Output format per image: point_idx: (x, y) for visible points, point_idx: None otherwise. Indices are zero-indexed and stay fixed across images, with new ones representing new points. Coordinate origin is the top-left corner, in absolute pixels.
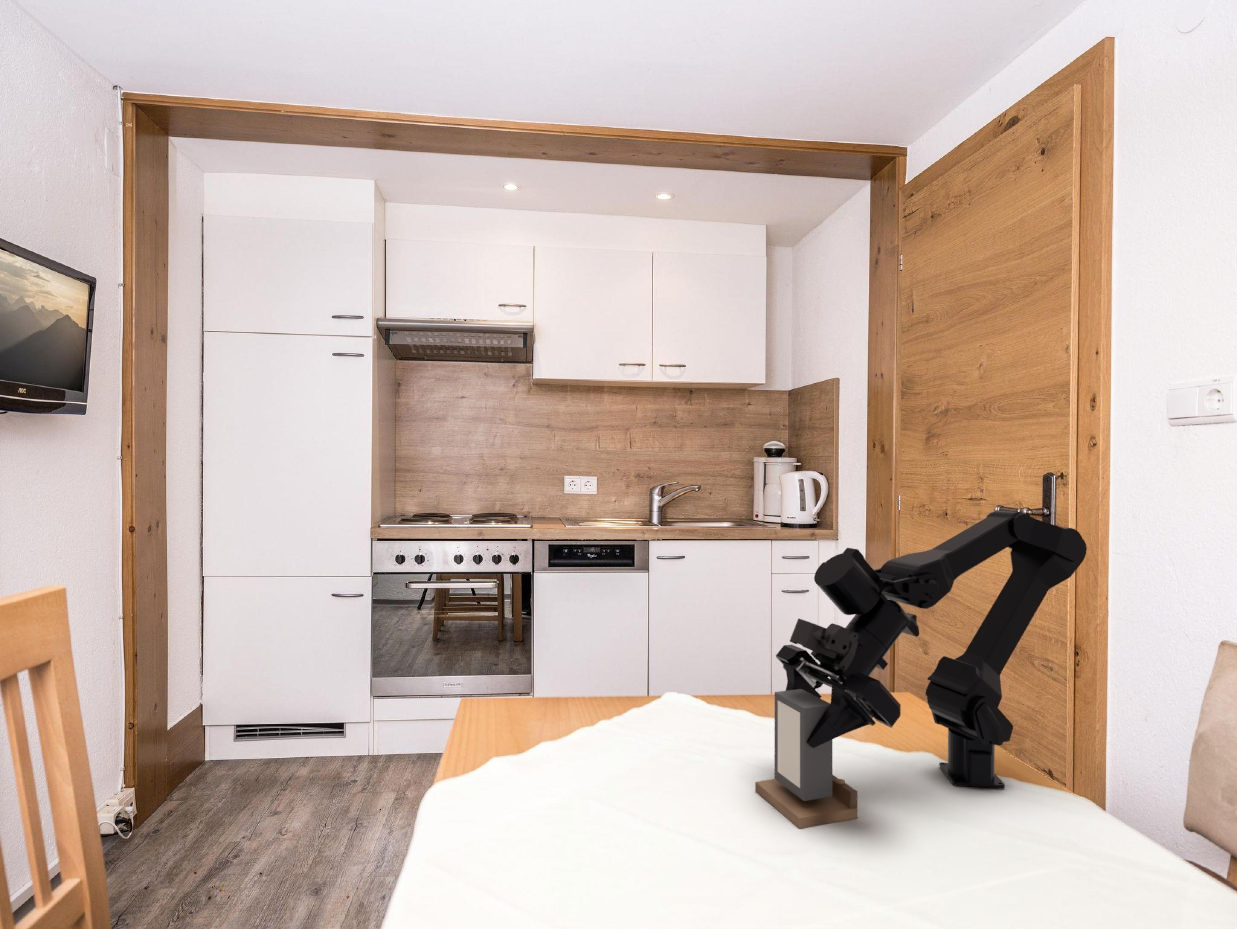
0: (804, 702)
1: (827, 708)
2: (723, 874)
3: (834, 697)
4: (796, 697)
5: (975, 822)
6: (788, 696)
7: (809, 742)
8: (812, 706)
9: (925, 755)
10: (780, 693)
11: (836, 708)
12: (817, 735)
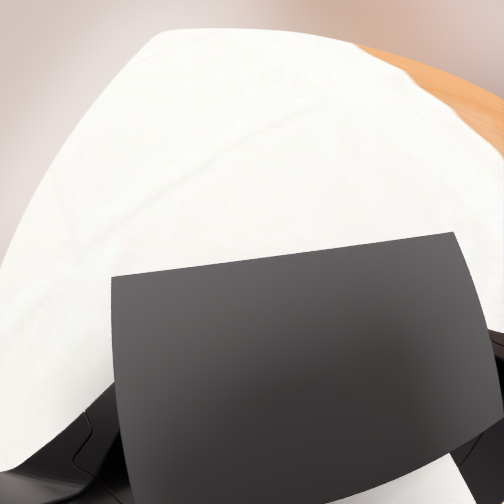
0: (229, 342)
1: (100, 457)
2: (103, 184)
3: (10, 489)
4: (359, 329)
5: None
6: (383, 280)
7: None
8: (128, 359)
9: None
10: (436, 254)
11: (24, 464)
12: None
